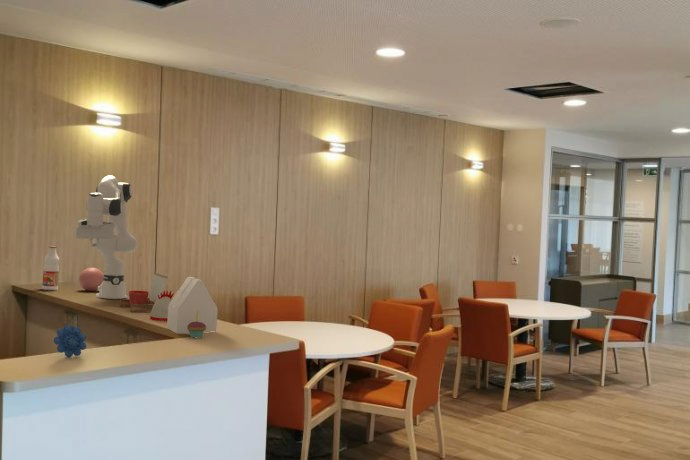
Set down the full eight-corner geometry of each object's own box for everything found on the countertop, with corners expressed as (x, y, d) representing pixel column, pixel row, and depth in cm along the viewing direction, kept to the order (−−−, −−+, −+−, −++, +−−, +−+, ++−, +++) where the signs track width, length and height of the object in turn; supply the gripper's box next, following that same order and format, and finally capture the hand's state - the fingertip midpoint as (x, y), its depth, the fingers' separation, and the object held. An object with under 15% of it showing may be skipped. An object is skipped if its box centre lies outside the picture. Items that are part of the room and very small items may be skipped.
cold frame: (120, 306, 387) (120, 298, 387) (148, 305, 396) (149, 298, 396) (131, 312, 368) (131, 303, 368) (160, 311, 377) (161, 303, 377)
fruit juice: (60, 289, 440) (63, 246, 440) (46, 290, 433) (49, 246, 433) (53, 288, 446) (56, 245, 446) (39, 288, 439) (42, 245, 439)
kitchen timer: (180, 321, 350) (182, 292, 350) (154, 321, 343) (156, 292, 343) (173, 316, 362) (174, 288, 362) (147, 317, 355) (148, 288, 355)
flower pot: (135, 310, 374) (136, 293, 374) (123, 308, 381) (125, 290, 381) (151, 309, 382) (152, 292, 382) (140, 307, 389) (141, 290, 389)
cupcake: (185, 335, 310) (186, 309, 310) (203, 335, 314) (205, 309, 314) (188, 339, 302) (190, 312, 302) (207, 338, 306) (209, 312, 306)
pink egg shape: (113, 292, 446) (114, 269, 446) (81, 292, 435) (82, 268, 435) (106, 289, 459) (108, 266, 459) (75, 289, 448) (77, 266, 448)
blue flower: (55, 360, 244) (57, 327, 244) (51, 356, 250) (53, 324, 249) (88, 358, 251) (90, 326, 251) (83, 354, 256) (85, 323, 256)
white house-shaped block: (176, 333, 314) (179, 279, 314) (166, 328, 327) (170, 276, 327) (216, 332, 324) (219, 280, 323) (205, 327, 337) (208, 277, 337)
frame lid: (154, 272, 396) (155, 272, 396) (148, 297, 395) (149, 298, 395) (165, 276, 378) (167, 276, 379) (159, 302, 377) (161, 303, 378)
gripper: (113, 221, 386) (112, 245, 388) (75, 221, 377) (74, 245, 379) (115, 222, 381) (114, 247, 382) (76, 222, 372) (75, 247, 373)
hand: (94, 246), depth 380 cm, fingers closed
